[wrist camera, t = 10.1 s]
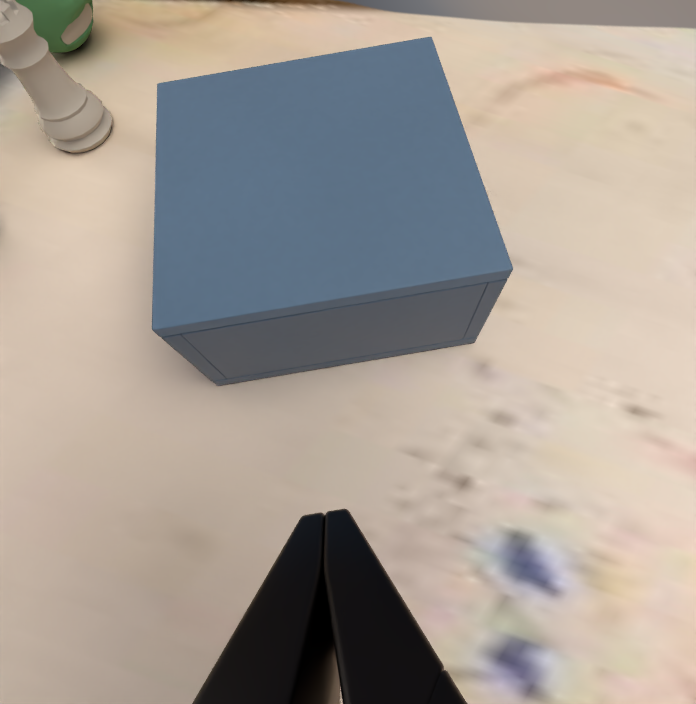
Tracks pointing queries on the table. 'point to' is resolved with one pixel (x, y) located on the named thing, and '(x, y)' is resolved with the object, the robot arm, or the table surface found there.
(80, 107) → the rook chess piece
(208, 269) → the lid
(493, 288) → the box
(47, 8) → the alien toy
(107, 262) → the table surface
